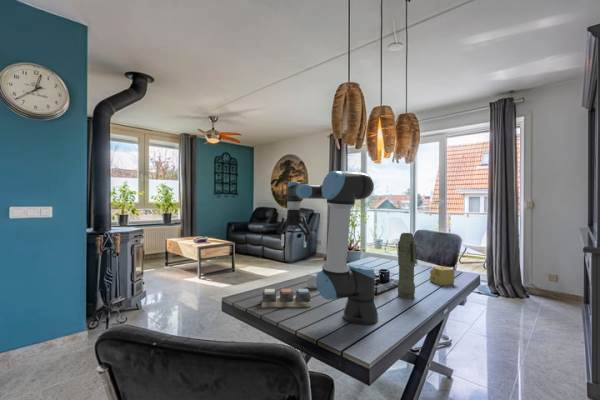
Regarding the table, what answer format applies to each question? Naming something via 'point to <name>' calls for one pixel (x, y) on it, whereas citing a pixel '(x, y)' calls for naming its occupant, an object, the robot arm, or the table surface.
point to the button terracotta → (286, 291)
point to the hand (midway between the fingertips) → (293, 246)
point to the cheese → (442, 275)
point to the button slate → (303, 291)
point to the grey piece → (286, 300)
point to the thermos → (406, 266)
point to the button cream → (269, 291)
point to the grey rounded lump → (311, 281)
